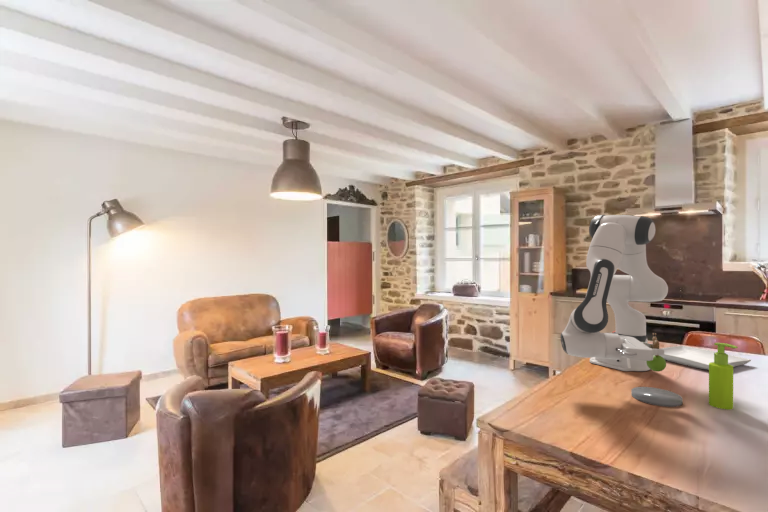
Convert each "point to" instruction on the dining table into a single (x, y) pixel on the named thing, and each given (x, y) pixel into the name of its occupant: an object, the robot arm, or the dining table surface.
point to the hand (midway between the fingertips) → (659, 349)
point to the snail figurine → (656, 358)
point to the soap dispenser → (721, 379)
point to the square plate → (697, 357)
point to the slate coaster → (657, 396)
